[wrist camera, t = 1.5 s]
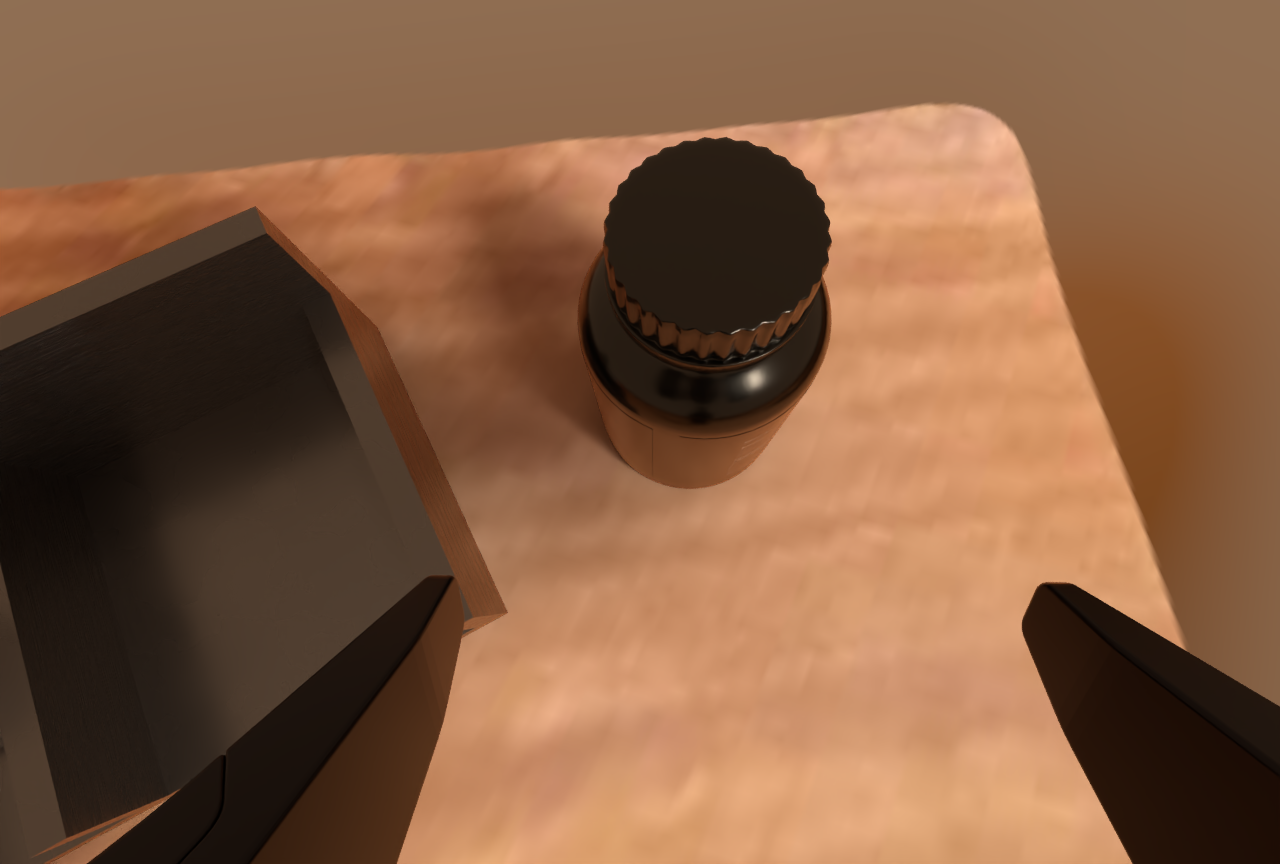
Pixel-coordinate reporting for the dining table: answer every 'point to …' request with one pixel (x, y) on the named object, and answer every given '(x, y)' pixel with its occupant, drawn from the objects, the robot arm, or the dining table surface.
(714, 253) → the supplement bottle
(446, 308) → the dining table surface
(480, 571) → the condiment caddy
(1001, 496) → the dining table surface
